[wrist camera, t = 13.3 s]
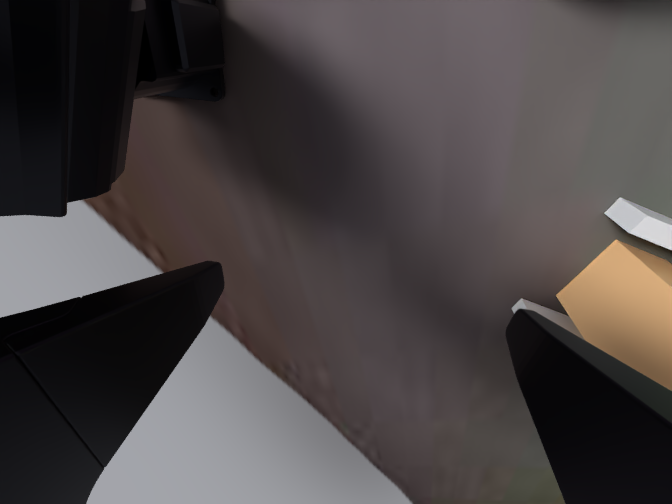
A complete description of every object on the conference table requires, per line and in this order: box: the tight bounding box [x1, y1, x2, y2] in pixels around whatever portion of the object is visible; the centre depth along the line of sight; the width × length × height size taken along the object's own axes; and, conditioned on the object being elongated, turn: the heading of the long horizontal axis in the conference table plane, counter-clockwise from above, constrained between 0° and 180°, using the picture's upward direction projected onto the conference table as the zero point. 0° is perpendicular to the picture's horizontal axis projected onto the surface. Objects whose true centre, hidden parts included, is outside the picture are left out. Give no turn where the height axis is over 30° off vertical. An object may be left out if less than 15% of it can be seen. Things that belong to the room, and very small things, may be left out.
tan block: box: [556, 240, 672, 391], centre depth 18 cm, size 4×6×12 cm
